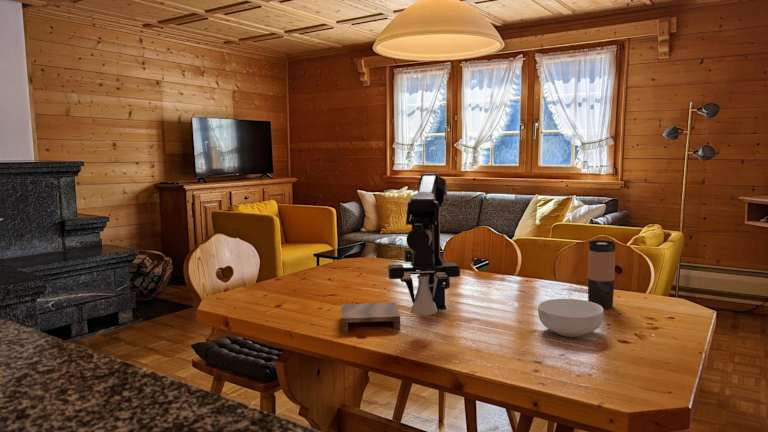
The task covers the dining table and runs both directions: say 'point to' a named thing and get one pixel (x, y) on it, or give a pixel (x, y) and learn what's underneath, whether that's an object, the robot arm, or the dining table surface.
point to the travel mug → (601, 273)
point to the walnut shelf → (370, 314)
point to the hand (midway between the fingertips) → (423, 302)
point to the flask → (423, 298)
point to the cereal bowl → (570, 316)
